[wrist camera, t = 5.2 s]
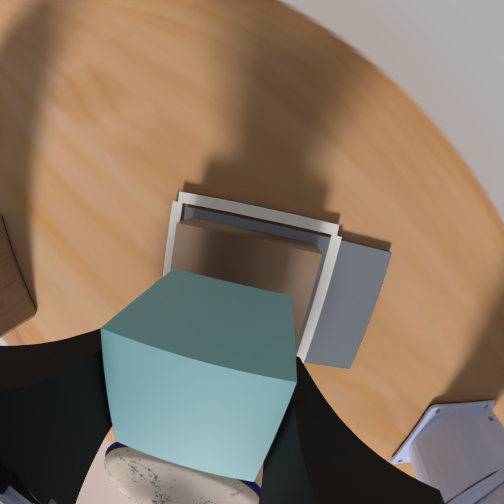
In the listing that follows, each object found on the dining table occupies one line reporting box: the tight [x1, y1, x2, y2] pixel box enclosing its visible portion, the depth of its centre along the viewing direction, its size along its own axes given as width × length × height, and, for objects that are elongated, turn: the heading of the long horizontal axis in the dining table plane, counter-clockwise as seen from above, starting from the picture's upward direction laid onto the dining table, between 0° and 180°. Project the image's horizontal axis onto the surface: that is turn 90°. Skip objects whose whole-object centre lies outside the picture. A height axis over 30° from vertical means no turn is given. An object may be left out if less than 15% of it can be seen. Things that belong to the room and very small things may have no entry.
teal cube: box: [101, 269, 297, 482], centre depth 9 cm, size 4×4×5 cm
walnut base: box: [170, 217, 322, 347], centre depth 15 cm, size 7×7×2 cm
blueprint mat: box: [163, 192, 391, 369], centre depth 17 cm, size 13×10×1 cm
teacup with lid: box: [105, 442, 263, 504], centre depth 14 cm, size 12×9×12 cm
